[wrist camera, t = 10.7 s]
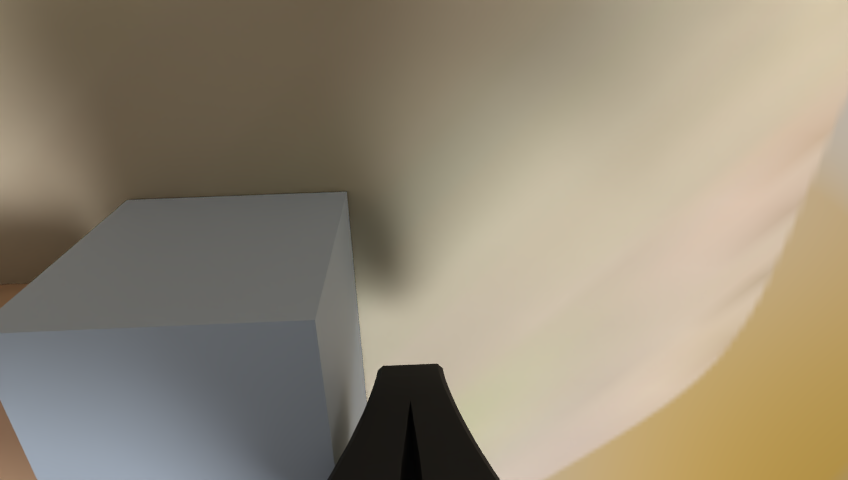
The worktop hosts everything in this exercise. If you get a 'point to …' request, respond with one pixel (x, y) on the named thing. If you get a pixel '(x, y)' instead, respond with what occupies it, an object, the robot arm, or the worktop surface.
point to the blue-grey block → (191, 344)
